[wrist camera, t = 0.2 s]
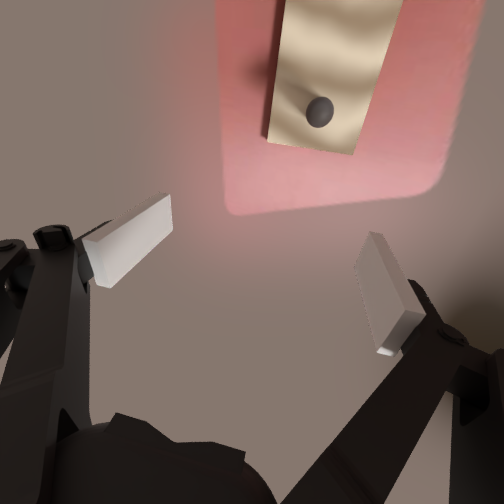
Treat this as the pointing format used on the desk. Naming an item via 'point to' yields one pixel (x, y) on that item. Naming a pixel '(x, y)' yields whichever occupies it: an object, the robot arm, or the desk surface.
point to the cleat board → (328, 70)
